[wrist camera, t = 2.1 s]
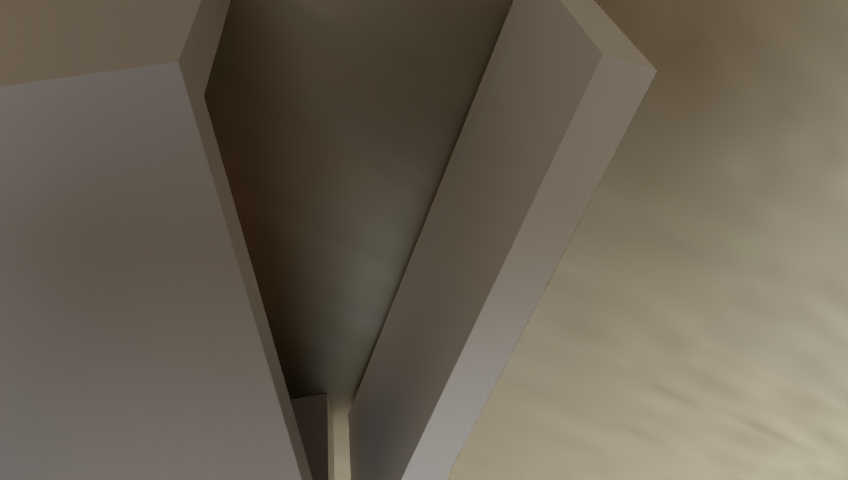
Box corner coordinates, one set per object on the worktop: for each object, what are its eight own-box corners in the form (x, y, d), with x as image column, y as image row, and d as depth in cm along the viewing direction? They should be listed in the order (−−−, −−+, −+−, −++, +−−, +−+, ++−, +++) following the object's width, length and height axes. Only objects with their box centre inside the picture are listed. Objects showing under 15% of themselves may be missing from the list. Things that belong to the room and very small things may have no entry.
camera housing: (343, 459, 26) (350, 670, 20) (31, 508, 26) (-49, 735, 20) (219, -47, 17) (170, 83, 11) (-267, 19, 16) (-568, 187, 11)
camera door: (398, 422, 25) (416, 582, 20) (348, 414, 24) (355, 576, 20) (595, -18, 18) (688, 80, 13) (529, -40, 17) (602, 54, 13)
